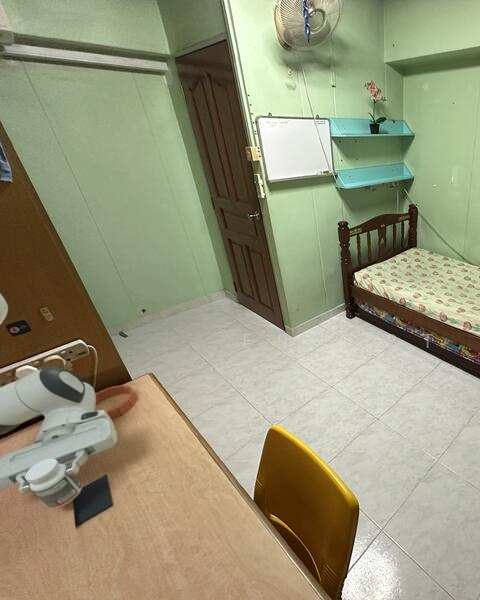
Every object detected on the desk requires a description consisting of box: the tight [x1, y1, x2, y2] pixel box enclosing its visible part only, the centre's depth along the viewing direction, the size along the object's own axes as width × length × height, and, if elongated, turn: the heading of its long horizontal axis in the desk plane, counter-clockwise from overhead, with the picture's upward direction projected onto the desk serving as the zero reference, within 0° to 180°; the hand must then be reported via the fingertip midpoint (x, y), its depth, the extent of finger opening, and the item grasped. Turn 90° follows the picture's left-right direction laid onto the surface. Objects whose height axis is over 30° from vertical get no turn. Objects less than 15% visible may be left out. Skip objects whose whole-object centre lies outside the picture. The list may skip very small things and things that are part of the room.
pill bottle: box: [25, 459, 83, 509], centre depth 67 cm, size 6×6×10 cm
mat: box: [72, 474, 114, 528], centre depth 71 cm, size 12×10×1 cm
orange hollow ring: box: [95, 384, 138, 421], centre depth 96 cm, size 13×13×3 cm
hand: (49, 481), depth 65 cm, fingers closed on pill bottle, 5 cm apart
